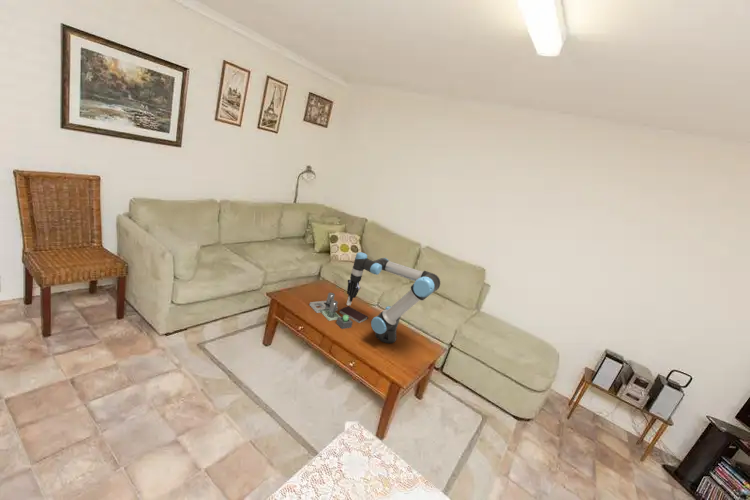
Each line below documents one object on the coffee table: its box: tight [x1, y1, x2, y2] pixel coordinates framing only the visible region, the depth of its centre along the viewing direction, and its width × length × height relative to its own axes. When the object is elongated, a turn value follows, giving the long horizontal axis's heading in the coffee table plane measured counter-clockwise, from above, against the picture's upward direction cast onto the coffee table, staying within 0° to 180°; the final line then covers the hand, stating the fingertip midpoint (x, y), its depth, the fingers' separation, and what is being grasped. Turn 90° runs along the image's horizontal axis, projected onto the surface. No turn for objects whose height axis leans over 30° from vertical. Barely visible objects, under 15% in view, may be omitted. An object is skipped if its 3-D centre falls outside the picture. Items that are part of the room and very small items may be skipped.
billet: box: [328, 299, 339, 318], centre depth 256 cm, size 5×5×12 cm
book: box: [339, 305, 369, 324], centre depth 268 cm, size 12×19×3 cm, turn 61°
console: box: [335, 316, 353, 330], centre depth 250 cm, size 8×8×5 cm
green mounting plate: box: [321, 310, 341, 322], centre depth 258 cm, size 11×10×2 cm
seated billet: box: [325, 292, 336, 307], centre depth 269 cm, size 5×5×12 cm
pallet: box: [309, 300, 339, 314], centre depth 267 cm, size 12×18×3 cm, turn 128°
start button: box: [342, 314, 350, 322], centre depth 249 cm, size 4×4×5 cm
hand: (348, 304), depth 246 cm, fingers closed
